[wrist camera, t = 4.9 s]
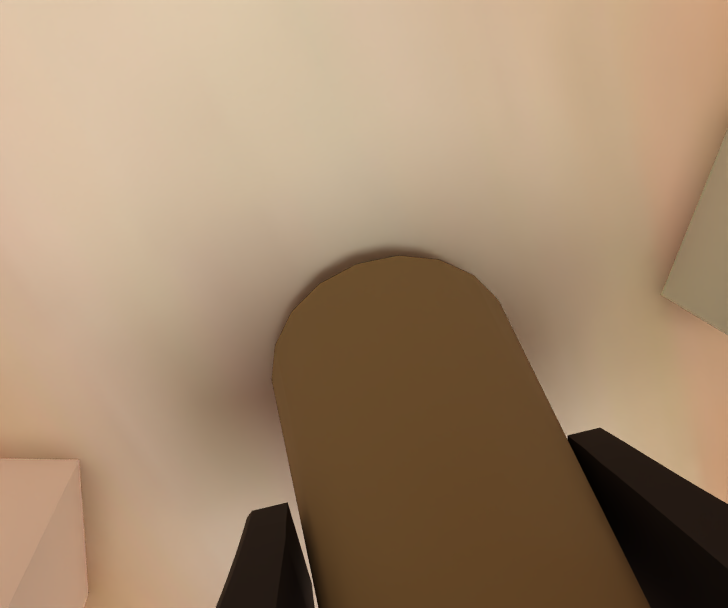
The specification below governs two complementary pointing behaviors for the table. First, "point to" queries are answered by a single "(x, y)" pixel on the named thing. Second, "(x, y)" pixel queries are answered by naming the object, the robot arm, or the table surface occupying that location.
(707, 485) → the table surface
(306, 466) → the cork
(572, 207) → the table surface
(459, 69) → the table surface
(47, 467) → the off-white block
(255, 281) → the table surface
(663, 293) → the sage-green block
